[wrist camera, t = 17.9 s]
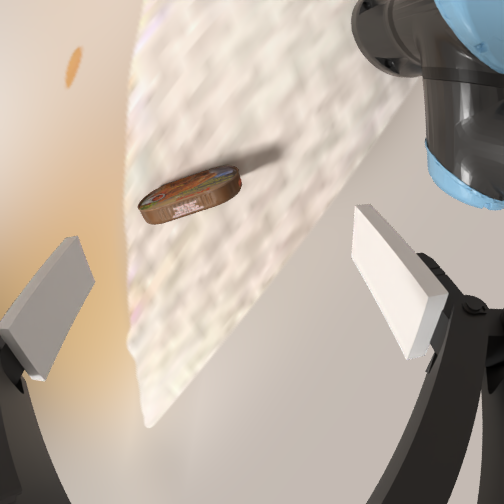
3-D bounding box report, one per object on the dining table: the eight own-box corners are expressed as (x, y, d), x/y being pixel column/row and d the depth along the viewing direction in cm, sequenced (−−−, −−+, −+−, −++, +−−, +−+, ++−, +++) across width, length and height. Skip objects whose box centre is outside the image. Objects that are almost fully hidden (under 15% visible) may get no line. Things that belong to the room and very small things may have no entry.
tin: (237, 160, 44) (237, 176, 37) (243, 179, 46) (245, 199, 38) (145, 191, 46) (129, 213, 38) (153, 209, 47) (138, 233, 40)
